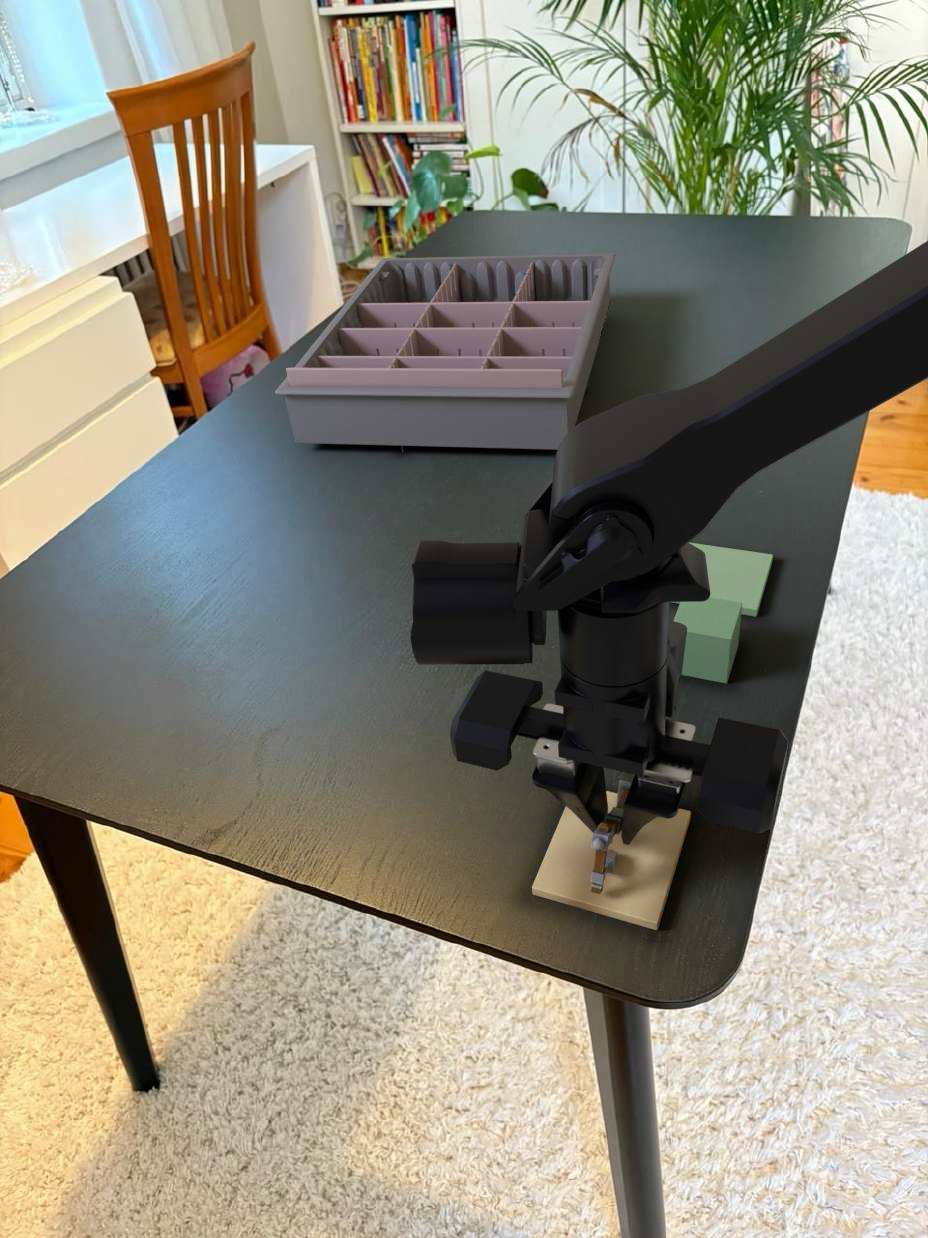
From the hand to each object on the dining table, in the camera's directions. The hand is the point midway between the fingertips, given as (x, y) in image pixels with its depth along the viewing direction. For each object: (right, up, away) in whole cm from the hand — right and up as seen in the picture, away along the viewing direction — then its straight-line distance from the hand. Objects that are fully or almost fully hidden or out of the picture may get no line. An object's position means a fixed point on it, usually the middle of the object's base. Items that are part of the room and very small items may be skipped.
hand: (615, 835), depth 62 cm
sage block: (+9, +11, +15) cm, 20 cm away
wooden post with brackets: (0, -1, +1) cm, 1 cm away
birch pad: (0, -2, +1) cm, 2 cm away
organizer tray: (-9, +43, +58) cm, 73 cm away
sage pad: (+12, +17, +22) cm, 31 cm away
